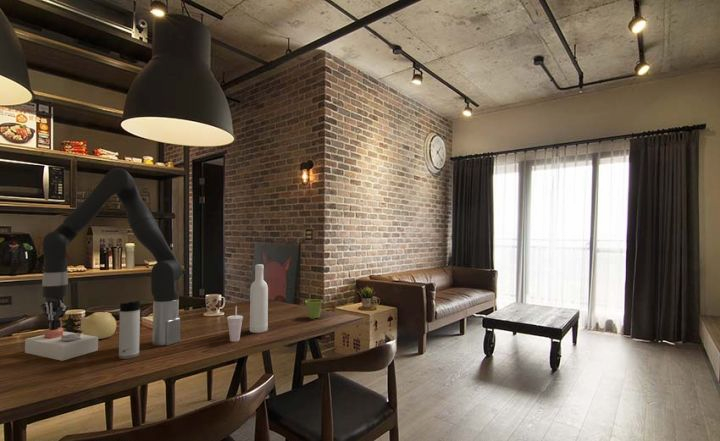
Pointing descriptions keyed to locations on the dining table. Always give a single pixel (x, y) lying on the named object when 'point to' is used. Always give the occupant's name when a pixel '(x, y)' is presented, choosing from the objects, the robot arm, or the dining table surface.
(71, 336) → the grey cube
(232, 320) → the smoothie
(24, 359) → the dining table surface
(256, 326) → the bottle
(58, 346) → the socket panel
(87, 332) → the pale yellow round lump
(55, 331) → the pink gift box
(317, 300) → the plant pot
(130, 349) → the travel mug
